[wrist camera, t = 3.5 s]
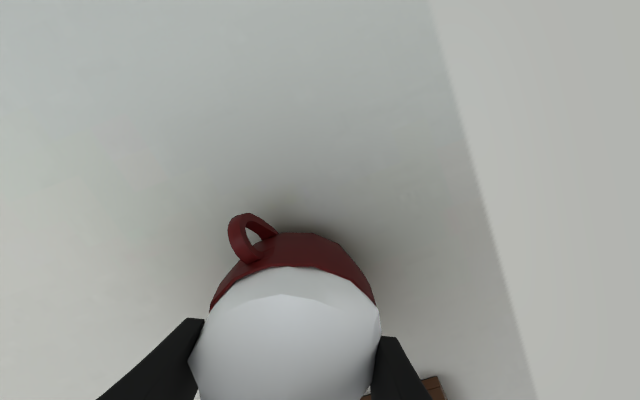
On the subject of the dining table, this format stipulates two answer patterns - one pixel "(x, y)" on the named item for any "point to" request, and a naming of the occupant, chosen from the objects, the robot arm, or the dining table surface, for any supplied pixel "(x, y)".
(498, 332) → the dining table surface
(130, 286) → the dining table surface
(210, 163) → the dining table surface
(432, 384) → the tray
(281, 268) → the cocoa
